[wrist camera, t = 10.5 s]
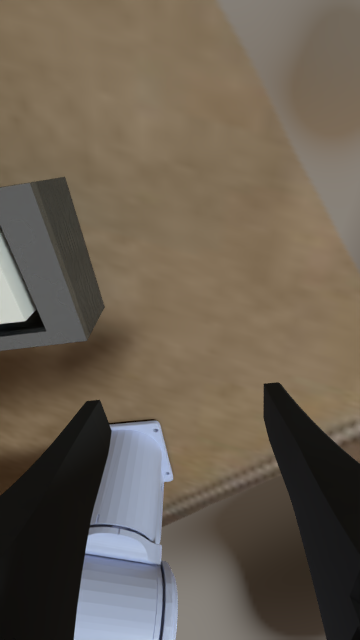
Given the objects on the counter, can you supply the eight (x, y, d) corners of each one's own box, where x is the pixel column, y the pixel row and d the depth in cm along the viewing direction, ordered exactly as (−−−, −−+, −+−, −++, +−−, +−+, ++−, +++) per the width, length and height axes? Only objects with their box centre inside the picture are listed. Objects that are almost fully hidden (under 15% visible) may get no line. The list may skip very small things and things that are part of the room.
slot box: (104, 307, 22) (87, 340, 18) (5, 319, 22) (-33, 354, 18) (64, 176, 17) (29, 182, 13) (-57, 196, 18) (-125, 208, 14)
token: (57, 287, 21) (25, 321, 17) (31, 290, 21) (-8, 324, 17) (31, 217, 19) (-14, 235, 14) (2, 221, 19) (-51, 240, 15)
